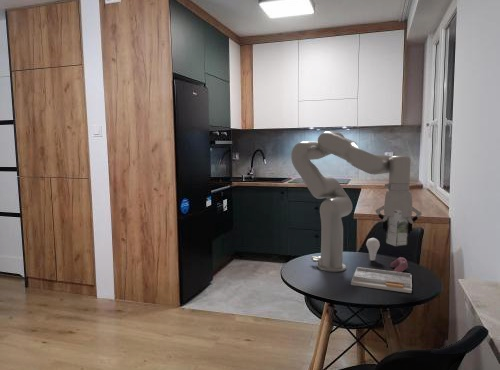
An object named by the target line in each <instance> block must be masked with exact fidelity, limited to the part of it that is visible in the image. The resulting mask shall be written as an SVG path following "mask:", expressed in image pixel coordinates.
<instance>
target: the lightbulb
mask: <svg viewBox="0 0 500 370" xmlns="http://www.w3.org/2000/svg"><path fill="white" fill-rule="evenodd" d="M380 243H381V242H380V241H379V240H378V239H377V238H375V237H371V238H368V239H367V240H366V243H365V245H366V248H367V250H368V255H369V260H370V261H372V262H374V261H375V260H376V256H377V253H378V250H379V248H380V245H381V244H380Z"/></svg>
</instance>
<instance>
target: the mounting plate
mask: <svg viewBox="0 0 500 370" xmlns="http://www.w3.org/2000/svg"><path fill="white" fill-rule="evenodd" d="M356 271H357V268H356V269H355V272H354V273H353V276H355V273H356ZM393 271H394V270H393ZM394 272H395V271H394ZM412 276H413V275H412V274H410V287H404V286H403V285H400V284H392V283H386V284H381V283H374V282H366V281H359V280H353V277H352V279H351V280H350V285H351V286H355V287H364V288H365V287H366V288H372V289H378V290H379V289H380V290H386V291H392V292H393V291H394V292H400V293H406V294H407V293H408V294H412V291H413V289H412V288H413V283H412V279H413V278H412Z"/></svg>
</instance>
